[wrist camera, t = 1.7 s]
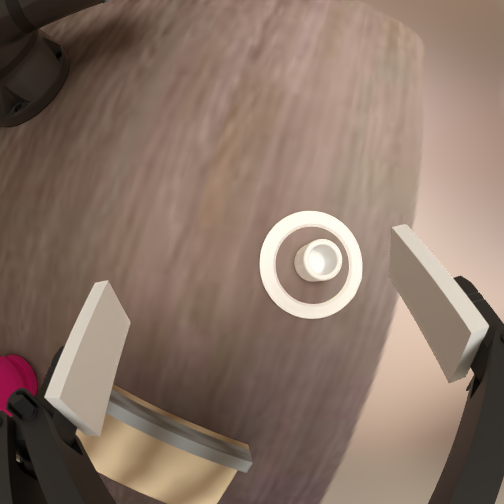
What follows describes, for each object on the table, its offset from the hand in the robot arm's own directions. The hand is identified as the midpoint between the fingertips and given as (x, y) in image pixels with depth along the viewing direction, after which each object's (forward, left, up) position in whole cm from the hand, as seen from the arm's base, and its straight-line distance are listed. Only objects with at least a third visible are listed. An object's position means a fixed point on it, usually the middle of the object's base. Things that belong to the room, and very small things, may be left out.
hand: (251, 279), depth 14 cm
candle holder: (+7, +6, -21) cm, 23 cm away
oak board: (-1, -22, -20) cm, 30 cm away
